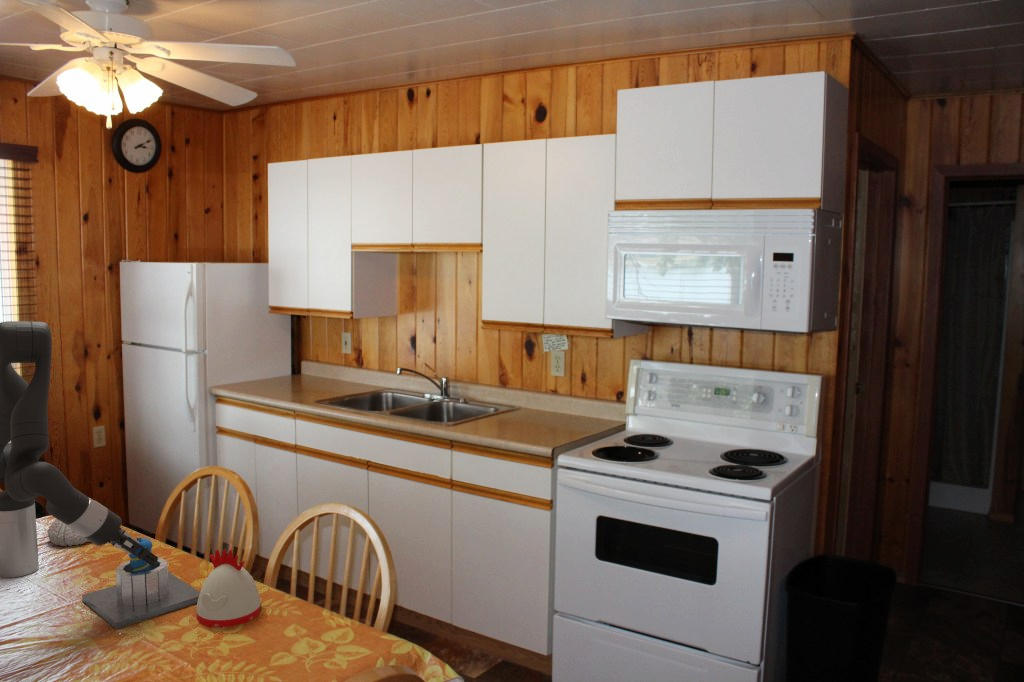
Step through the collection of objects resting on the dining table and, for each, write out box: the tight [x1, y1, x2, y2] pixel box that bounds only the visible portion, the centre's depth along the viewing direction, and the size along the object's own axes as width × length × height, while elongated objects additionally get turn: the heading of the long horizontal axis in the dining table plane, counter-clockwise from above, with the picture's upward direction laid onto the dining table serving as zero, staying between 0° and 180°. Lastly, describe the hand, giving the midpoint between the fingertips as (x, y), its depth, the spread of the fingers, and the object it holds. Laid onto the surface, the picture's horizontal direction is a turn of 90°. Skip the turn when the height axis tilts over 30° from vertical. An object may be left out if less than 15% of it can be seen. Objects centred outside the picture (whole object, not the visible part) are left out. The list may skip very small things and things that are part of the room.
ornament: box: [128, 533, 153, 573], centre depth 191 cm, size 5×5×15 cm
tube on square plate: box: [81, 557, 200, 630], centre depth 192 cm, size 20×20×8 cm
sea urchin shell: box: [47, 518, 90, 547], centre depth 230 cm, size 13×14×8 cm
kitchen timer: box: [196, 548, 262, 628], centre depth 186 cm, size 14×14×15 cm
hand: (147, 556), depth 192 cm, fingers open, 8 cm apart
